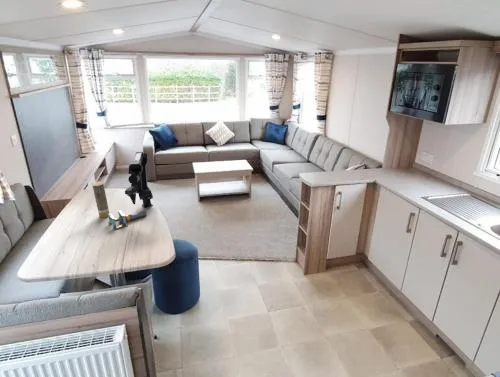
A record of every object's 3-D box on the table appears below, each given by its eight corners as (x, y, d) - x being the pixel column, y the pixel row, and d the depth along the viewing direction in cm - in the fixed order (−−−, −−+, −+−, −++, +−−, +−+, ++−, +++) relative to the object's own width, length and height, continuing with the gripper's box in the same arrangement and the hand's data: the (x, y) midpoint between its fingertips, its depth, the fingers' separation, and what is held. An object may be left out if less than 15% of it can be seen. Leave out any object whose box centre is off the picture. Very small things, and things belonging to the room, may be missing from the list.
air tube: (120, 224, 208) (119, 219, 206) (118, 222, 211) (117, 216, 209) (146, 217, 218) (146, 211, 217) (144, 214, 221) (143, 209, 220)
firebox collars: (108, 221, 212) (106, 212, 209) (121, 218, 216) (119, 208, 213) (115, 230, 202) (113, 220, 199) (127, 226, 206) (125, 216, 203)
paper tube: (111, 213, 223) (105, 181, 213) (106, 218, 216) (99, 185, 206) (102, 213, 223) (95, 181, 213) (97, 218, 217) (90, 185, 207)
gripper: (117, 183, 203) (119, 206, 205) (138, 184, 194) (140, 208, 197) (130, 180, 212) (132, 203, 215) (150, 181, 204) (153, 204, 207)
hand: (139, 204), depth 208 cm, fingers open, 9 cm apart
